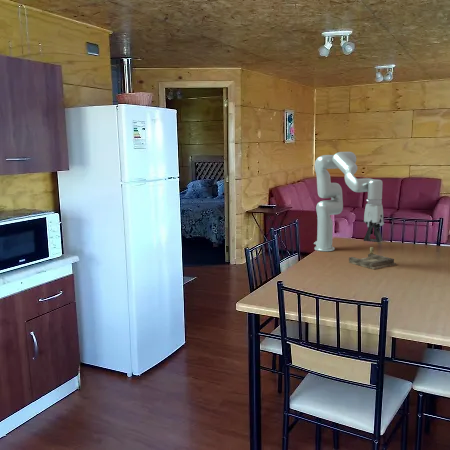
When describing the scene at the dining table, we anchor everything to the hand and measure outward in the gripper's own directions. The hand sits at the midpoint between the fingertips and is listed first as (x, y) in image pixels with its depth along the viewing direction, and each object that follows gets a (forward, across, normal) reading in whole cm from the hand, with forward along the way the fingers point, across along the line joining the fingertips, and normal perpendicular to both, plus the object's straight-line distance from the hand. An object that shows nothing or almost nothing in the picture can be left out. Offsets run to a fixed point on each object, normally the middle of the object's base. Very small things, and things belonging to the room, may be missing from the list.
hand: (373, 234), depth 264 cm
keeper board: (+17, 0, 0) cm, 17 cm away
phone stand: (+4, 0, 0) cm, 4 cm away
